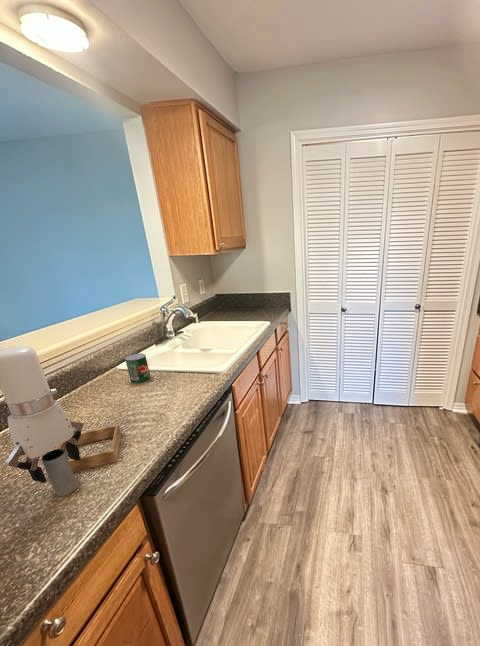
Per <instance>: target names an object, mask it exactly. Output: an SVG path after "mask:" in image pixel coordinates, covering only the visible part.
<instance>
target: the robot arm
mask: <svg viewBox="0 0 480 646" xmlns="http://www.w3.org/2000/svg"><path fill="white" fill-rule="evenodd" d="M49 385H50V384H49V383H48V380H47V377H46V375H45V372H44V370H43V367H42V364H41V361H40V359H39V357H38V354H37V351H36V350H35V349H34V348H32V347H31V346H28V345H15V346H9V347H0V391H1V395H2V396H3V398H4V400H5V403H6V405H7V407H8V409H9V412H10V415H8V416H7V425H8V430H9V434H10V437H11V441H12V443H13V446H14V447H13V449H12V451H11V453H10V454H9V455H8V457H7V458H6V460H5V461H4V465H6V466H8V467H12V468H15V469H20V470H27V471H28V473H29V475H30V477H31V479H32V481H33V482H38V483H42V484H45V483H46V482H47V477H46V475H45V473H44V470H43V468H42V467H41V466H39V461H40V457H42V456H43V455H44V454H46V453H48V452H50V451H52V450H55V448H58V446H59V445H61V444H62V443H64V442H66V443H67V444H66V445H65V447H66V450H67V453H66V454H67V455H68V459H69V460H71V459H73V460H76V461H79V460H80V459H81V458H80V457H81V452H80V449H79V447H78V446H79V445H78V443H79V441H78V440H79V438H80V435H81V433H82V430H83V428H84V425H85V424H84V423H83V422H80V421H75V420H74V421H72V420H70V419H69V417H68V415H67V412H66V411H65V409H64V408H63V407H62V405H61V404H60V402H59V401H58V400H56V399H55V396H56V395H58V394H59V391H58V390H57V389H56V388H52V389H50V386H49ZM21 456H25V457H24V461H20V460H19V459H20V457H21Z"/></svg>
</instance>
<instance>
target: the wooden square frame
mask: <svg viewBox="0 0 480 646" xmlns="http://www.w3.org/2000/svg"><path fill="white" fill-rule="evenodd" d="M119 425H120V424H114V425H110V426H105V427H104V426H103V427H101V428H96V429H91V430H87V431H86V430H85V431H83V432H82V431H81V435H80V438H79V440H78V441H79V443H78V445H77V446H80V445H85V444H89V443H93V442H98V441H103V440H106V439H111V438H112V440H111V441H112V442H111V446H110V449H108V450H104V451H100V452H96V453H92V454H88V455H84V456H80V458H81V459H80V460H79V461H76V460H73V459H68V460H69V463H70V465H71V468H72V470H73V473H76V472H80V471H84V470H87V469H88V470H89V469H93V468H95V467H99V466H103V465H107V464H111V463H116V462H118V457H119V450H120V444H121V438H122V432H121V429H120V426H119ZM66 444H67V443H66V442H64V443H62V444H61V445H59V446H57V447H56V449H63V450H65V452H66V454H68V453H67V450H66V447H65V445H66Z"/></svg>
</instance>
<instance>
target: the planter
mask: <svg viewBox="0 0 480 646" xmlns="http://www.w3.org/2000/svg"><path fill="white" fill-rule="evenodd" d="M67 455H68V454H67V453H66V452H65V450H63V449H57V448H56V449H52V450H50V451H48V452H46V453H45V454H43V455H41V458H40V460H41V463H42V465H43V468H44V470H45V472H46V475H47V477H48V479H49V481H50V483H51V487H52V488H53V491H54V493H55V495H56V496H57V497H64V496H68V495H70V494H71V493H73V492H74V491H76V490H77V488H78V487H79V483H78V481H77V477H76V476H75V472H73V470H72V468H71V465H70V463H69V460H70V459H69V457H68V456H67Z"/></svg>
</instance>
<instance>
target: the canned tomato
mask: <svg viewBox="0 0 480 646" xmlns="http://www.w3.org/2000/svg"><path fill="white" fill-rule="evenodd" d="M124 361H125V364H126V368H127V372H128V375H129V380H130V383H131V384H132V385H141V384H145V383H148V382H150V381H151V380H152V376H151V372H150V369H149V363H148V360H147V355H146V354H145V353H133V354H129V355H126V356H125V357H124Z"/></svg>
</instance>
